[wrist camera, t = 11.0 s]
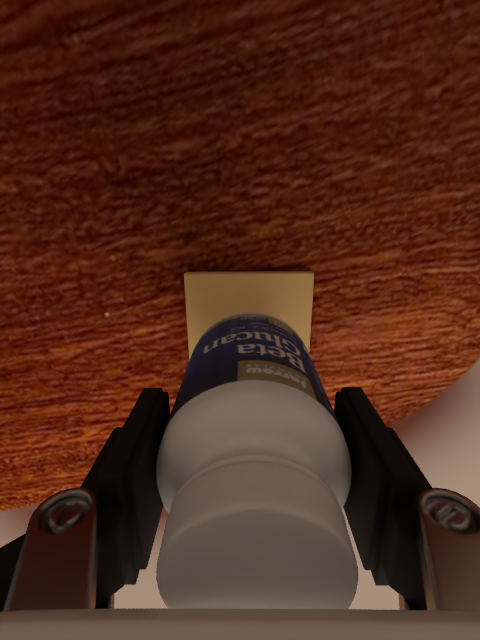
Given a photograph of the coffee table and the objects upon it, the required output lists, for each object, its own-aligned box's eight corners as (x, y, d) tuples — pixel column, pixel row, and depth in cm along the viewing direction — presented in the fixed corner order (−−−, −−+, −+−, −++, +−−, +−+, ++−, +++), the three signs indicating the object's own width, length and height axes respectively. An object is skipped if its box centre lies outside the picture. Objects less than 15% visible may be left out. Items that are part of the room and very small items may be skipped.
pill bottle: (298, 297, 15) (392, 454, 6) (314, 403, 16) (406, 657, 7) (178, 320, 15) (77, 502, 6) (206, 421, 17) (161, 684, 8)
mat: (312, 270, 19) (314, 272, 18) (305, 383, 21) (307, 388, 20) (185, 271, 19) (183, 273, 18) (192, 383, 21) (190, 388, 20)
